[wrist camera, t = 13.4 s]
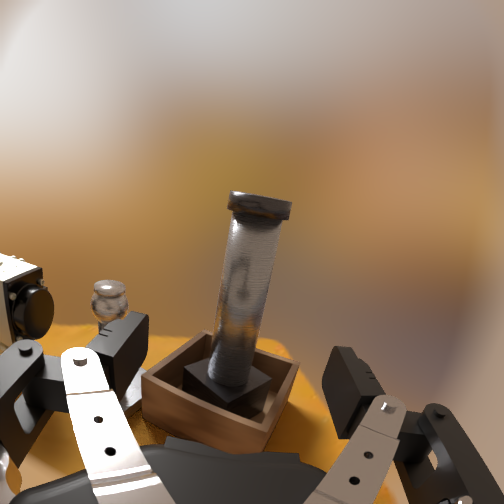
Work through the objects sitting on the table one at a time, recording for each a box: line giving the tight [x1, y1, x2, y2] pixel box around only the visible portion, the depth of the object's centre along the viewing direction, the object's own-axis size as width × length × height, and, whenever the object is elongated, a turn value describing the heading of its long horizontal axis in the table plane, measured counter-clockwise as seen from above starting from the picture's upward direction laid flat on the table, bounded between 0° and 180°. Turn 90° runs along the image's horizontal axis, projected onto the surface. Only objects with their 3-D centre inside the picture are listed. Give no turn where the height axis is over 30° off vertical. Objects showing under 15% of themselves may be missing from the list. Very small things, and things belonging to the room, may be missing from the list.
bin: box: [141, 329, 300, 454], centre depth 23 cm, size 10×10×5 cm
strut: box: [182, 191, 292, 419], centre depth 21 cm, size 5×5×18 cm
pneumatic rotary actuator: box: [0, 254, 54, 355], centre depth 19 cm, size 6×12×12 cm, turn 88°
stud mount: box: [91, 280, 146, 420], centre depth 22 cm, size 7×7×11 cm
